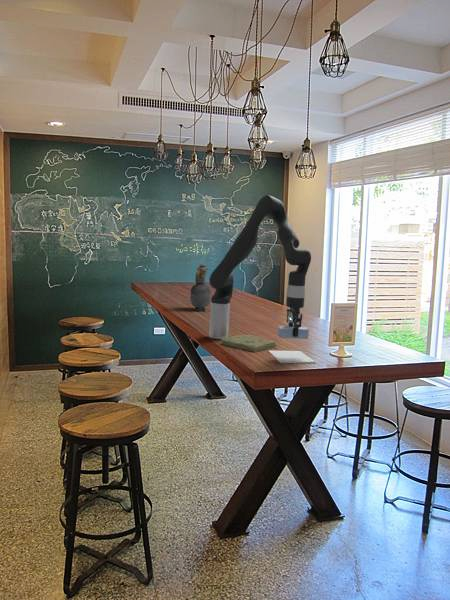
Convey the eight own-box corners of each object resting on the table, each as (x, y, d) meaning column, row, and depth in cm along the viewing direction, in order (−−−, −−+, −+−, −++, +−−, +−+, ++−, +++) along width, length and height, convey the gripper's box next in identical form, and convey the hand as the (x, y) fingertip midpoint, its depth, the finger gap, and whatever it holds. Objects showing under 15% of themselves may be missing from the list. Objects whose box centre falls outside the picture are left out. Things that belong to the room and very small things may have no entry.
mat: (268, 351, 234) (268, 350, 234) (300, 352, 237) (300, 351, 237) (280, 362, 216) (280, 361, 216) (315, 363, 218) (315, 361, 218)
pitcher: (195, 311, 334) (197, 264, 330) (186, 307, 352) (189, 262, 348) (211, 311, 338) (214, 264, 334) (202, 307, 355) (204, 262, 351)
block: (305, 336, 228) (305, 327, 228) (308, 338, 223) (308, 329, 222) (277, 335, 227) (278, 326, 227) (280, 337, 222) (280, 328, 221)
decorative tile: (255, 353, 232) (255, 345, 231) (220, 345, 244) (220, 337, 244) (278, 347, 246) (279, 340, 246) (244, 340, 259) (245, 333, 258)
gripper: (309, 298, 217) (306, 338, 219) (298, 294, 231) (295, 332, 233) (292, 297, 215) (289, 338, 217) (282, 293, 229) (279, 331, 231)
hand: (292, 334), depth 225 cm, fingers closed on block, 5 cm apart
